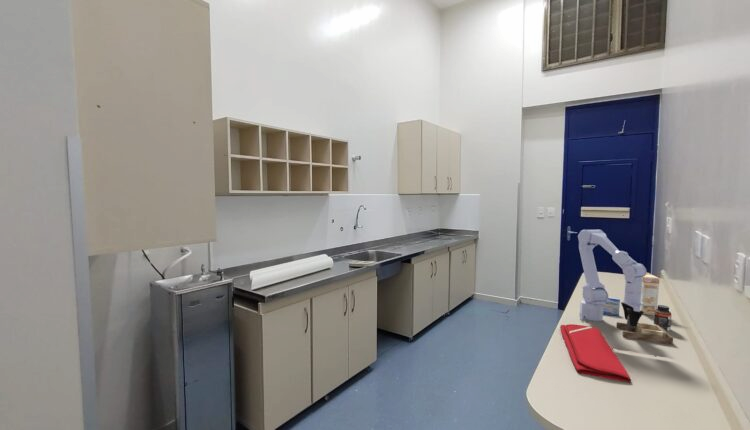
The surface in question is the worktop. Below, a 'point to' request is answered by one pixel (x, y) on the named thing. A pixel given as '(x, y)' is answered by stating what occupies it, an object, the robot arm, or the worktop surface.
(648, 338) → the bay
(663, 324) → the supplement bottle
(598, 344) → the dish drying mat
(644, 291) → the coffeecake box
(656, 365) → the worktop surface
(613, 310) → the medicine box
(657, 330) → the drawer
